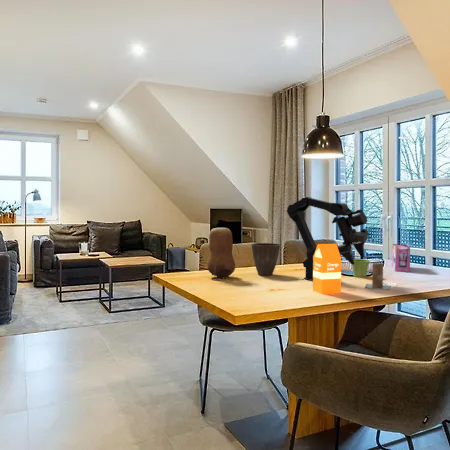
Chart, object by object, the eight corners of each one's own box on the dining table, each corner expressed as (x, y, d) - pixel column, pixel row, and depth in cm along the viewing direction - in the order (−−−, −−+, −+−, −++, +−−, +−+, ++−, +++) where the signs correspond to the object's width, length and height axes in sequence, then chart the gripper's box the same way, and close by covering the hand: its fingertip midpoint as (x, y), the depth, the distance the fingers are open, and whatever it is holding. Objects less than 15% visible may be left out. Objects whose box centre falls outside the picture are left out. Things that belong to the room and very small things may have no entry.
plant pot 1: (272, 272, 239) (272, 242, 238) (284, 276, 225) (285, 244, 224) (247, 273, 234) (247, 243, 234) (257, 277, 220) (258, 245, 220)
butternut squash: (225, 274, 229) (225, 226, 228) (240, 278, 218) (240, 227, 217) (202, 276, 221) (202, 227, 221) (216, 280, 210) (216, 228, 209)
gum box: (410, 272, 240) (411, 247, 240) (395, 271, 242) (395, 247, 242) (405, 266, 263) (405, 244, 263) (391, 266, 265) (391, 243, 265)
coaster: (364, 288, 190) (364, 287, 190) (366, 285, 199) (366, 283, 199) (389, 290, 186) (389, 289, 186) (390, 286, 195) (390, 285, 195)
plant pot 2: (370, 279, 217) (371, 261, 216) (350, 278, 218) (351, 261, 218) (368, 276, 226) (368, 259, 225) (349, 275, 228) (349, 258, 227)
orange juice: (341, 293, 180) (341, 244, 180) (321, 294, 178) (322, 244, 177) (331, 289, 188) (331, 242, 187) (312, 290, 185) (313, 243, 185)
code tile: (374, 285, 198) (374, 284, 198) (376, 282, 207) (376, 281, 207) (395, 286, 195) (395, 286, 195) (396, 283, 203) (396, 283, 203)
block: (372, 287, 191) (372, 264, 191) (373, 285, 196) (373, 262, 195) (382, 287, 189) (382, 264, 189) (382, 285, 194) (383, 263, 194)
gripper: (350, 231, 189) (363, 265, 190) (370, 219, 202) (383, 251, 202) (329, 236, 198) (342, 269, 198) (350, 225, 210) (362, 255, 211)
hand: (358, 260), depth 202 cm, fingers open, 9 cm apart
